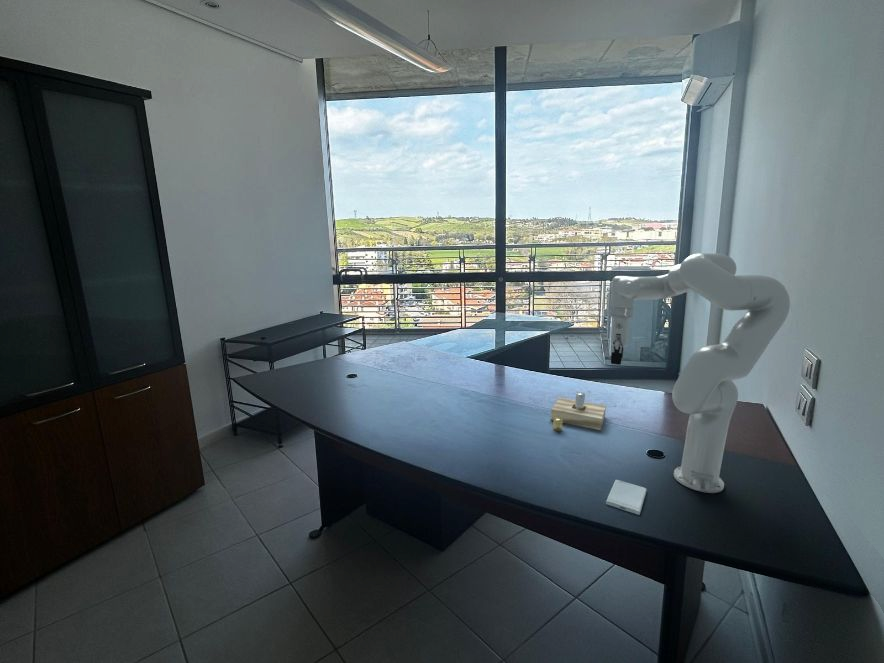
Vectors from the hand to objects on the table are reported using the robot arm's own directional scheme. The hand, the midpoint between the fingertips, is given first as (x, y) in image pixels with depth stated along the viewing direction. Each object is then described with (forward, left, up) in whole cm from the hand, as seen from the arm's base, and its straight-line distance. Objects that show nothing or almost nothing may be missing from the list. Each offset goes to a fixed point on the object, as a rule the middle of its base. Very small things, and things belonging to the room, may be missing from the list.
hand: (616, 360), depth 153 cm
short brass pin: (-9, +16, -26) cm, 32 cm away
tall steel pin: (+5, +11, -26) cm, 29 cm away
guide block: (+5, +11, -26) cm, 29 cm away
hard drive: (-43, -9, -27) cm, 51 cm away
